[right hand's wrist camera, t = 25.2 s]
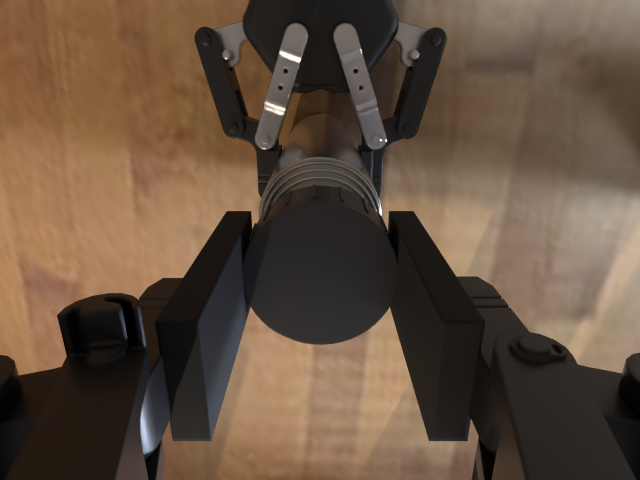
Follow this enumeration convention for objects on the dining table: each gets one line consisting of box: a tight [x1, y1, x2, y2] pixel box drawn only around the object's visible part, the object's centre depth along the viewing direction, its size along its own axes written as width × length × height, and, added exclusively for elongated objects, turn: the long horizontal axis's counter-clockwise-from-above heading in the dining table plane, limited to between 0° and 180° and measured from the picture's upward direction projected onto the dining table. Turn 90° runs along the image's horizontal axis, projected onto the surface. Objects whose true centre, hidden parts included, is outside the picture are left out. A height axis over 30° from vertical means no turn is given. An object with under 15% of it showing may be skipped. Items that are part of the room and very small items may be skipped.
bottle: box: [259, 114, 382, 219], centre depth 24 cm, size 5×5×22 cm
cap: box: [243, 184, 398, 345], centre depth 13 cm, size 4×4×2 cm
